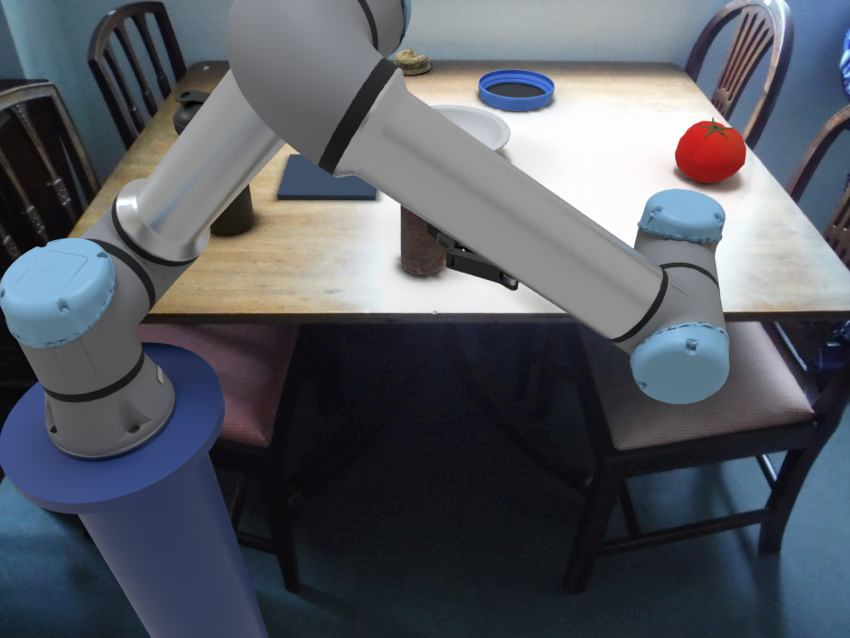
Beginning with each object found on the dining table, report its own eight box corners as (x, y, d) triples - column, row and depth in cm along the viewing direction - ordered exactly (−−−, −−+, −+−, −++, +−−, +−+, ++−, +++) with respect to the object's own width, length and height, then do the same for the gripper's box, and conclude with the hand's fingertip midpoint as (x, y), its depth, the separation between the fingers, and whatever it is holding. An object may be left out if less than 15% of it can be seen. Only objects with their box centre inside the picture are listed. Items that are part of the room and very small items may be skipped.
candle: (409, 246, 111) (409, 134, 98) (451, 254, 109) (457, 142, 96) (394, 272, 105) (391, 157, 92) (438, 281, 103) (441, 165, 90)
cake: (412, 81, 167) (410, 59, 163) (384, 71, 172) (382, 50, 168) (438, 67, 172) (437, 46, 168) (411, 58, 177) (409, 38, 173)
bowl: (530, 79, 167) (531, 64, 165) (566, 106, 155) (569, 91, 152) (465, 88, 162) (466, 74, 160) (497, 117, 150) (499, 102, 147)
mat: (277, 199, 122) (276, 194, 121) (290, 158, 134) (289, 154, 133) (375, 200, 122) (375, 195, 121) (379, 159, 134) (379, 154, 133)
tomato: (662, 159, 135) (675, 110, 128) (722, 160, 135) (739, 110, 128) (681, 193, 125) (696, 141, 118) (746, 193, 125) (765, 141, 118)
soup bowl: (527, 152, 137) (531, 121, 133) (470, 202, 122) (473, 170, 117) (429, 124, 147) (430, 95, 142) (365, 167, 131) (363, 136, 127)
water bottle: (209, 206, 119) (179, 80, 104) (265, 208, 119) (243, 82, 104) (192, 238, 112) (157, 107, 97) (252, 240, 112) (226, 109, 96)
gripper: (503, 349, 75) (395, 261, 88) (644, 270, 87) (530, 202, 99) (509, 297, 70) (393, 212, 83) (657, 221, 82) (536, 157, 94)
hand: (468, 207), depth 91 cm, fingers open, 13 cm apart
